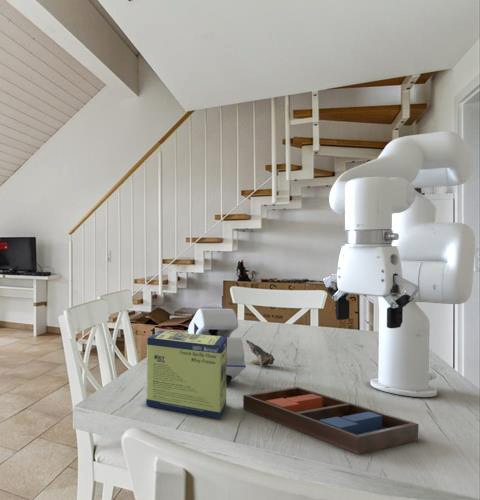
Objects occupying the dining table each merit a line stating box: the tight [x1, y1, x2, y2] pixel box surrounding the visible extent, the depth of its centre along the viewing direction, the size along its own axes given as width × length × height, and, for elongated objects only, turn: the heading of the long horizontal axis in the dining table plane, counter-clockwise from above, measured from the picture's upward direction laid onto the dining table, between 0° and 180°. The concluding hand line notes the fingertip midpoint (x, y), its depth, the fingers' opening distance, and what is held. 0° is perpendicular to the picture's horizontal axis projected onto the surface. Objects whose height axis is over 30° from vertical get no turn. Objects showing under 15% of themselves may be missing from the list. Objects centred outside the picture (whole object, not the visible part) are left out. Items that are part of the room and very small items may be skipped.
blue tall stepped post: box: [319, 412, 382, 435], centre depth 91 cm, size 13×4×2 cm, turn 111°
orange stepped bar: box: [266, 394, 323, 412], centre depth 102 cm, size 13×4×2 cm, turn 111°
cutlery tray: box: [242, 386, 419, 456], centre depth 97 cm, size 17×24×3 cm
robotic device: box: [187, 307, 247, 386], centre depth 129 cm, size 10×21×20 cm
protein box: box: [145, 330, 227, 420], centre depth 107 cm, size 10×16×16 cm
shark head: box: [245, 339, 275, 368], centre depth 142 cm, size 8×6×7 cm
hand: (367, 323), depth 97 cm, fingers open, 9 cm apart
